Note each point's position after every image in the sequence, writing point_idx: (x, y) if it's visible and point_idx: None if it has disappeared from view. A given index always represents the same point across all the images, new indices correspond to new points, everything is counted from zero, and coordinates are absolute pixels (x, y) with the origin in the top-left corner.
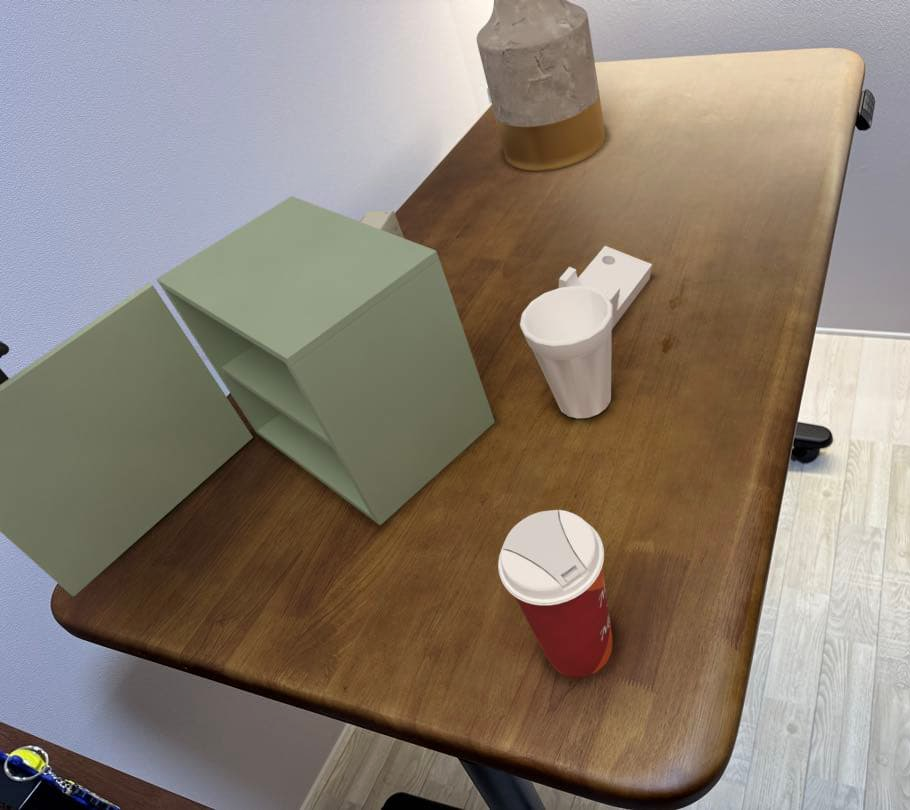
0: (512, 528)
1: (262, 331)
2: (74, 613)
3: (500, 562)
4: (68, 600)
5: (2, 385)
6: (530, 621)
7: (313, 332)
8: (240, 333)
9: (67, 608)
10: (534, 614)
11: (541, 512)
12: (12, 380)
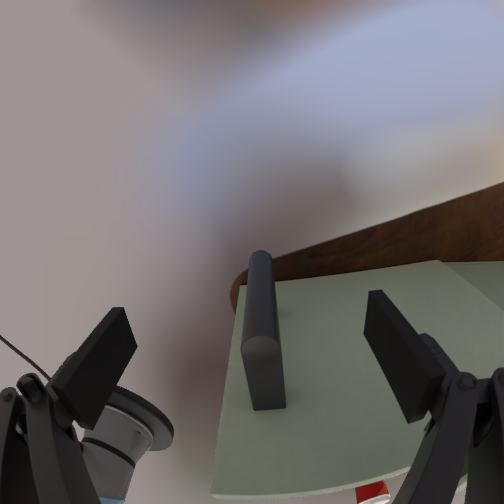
0: (378, 501)
1: (462, 485)
2: (234, 306)
3: (366, 501)
4: (236, 289)
5: (390, 475)
6: (356, 488)
7: (456, 492)
8: (466, 476)
9: (232, 296)
10: (356, 497)
11: (387, 499)
12: (403, 472)
